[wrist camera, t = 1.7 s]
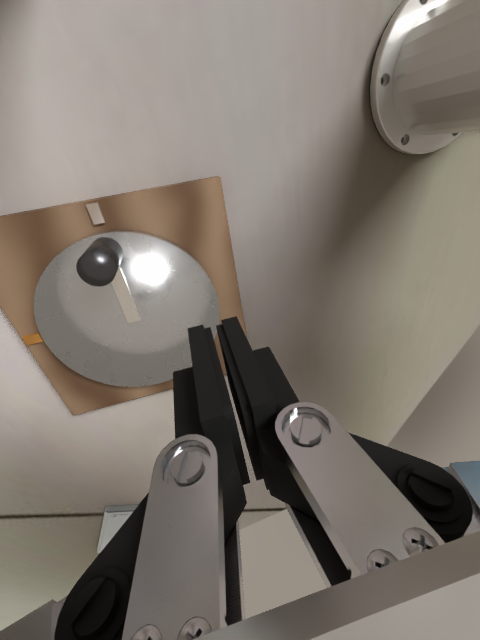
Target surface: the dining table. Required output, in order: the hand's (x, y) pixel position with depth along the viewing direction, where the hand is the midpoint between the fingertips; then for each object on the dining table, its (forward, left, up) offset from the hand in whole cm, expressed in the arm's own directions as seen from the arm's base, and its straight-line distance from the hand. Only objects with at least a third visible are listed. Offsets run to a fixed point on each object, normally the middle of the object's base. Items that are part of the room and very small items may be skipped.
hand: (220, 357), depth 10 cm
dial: (+7, +7, -19) cm, 22 cm away
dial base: (+7, +7, -21) cm, 23 cm away
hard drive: (+22, +47, -22) cm, 56 cm away
